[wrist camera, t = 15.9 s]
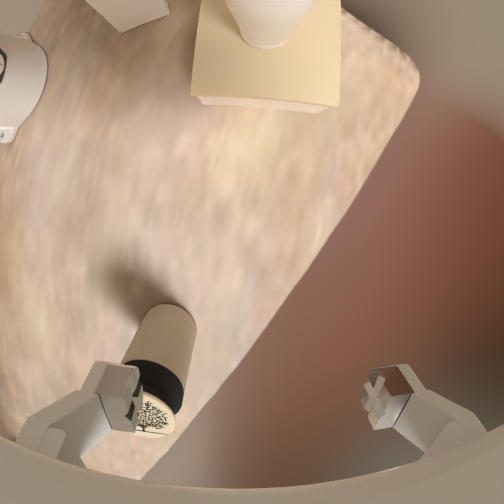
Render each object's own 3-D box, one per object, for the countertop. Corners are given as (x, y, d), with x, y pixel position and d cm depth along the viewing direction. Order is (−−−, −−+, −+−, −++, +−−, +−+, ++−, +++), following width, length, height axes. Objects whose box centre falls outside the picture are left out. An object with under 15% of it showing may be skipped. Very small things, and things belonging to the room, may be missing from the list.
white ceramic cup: (231, 57, 25) (208, 0, 11) (231, 1, 23) (212, -79, 9) (301, 59, 25) (338, 4, 11) (299, 2, 22) (328, -76, 9)
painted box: (200, 106, 34) (189, 94, 26) (210, 7, 29) (205, -22, 22) (318, 116, 34) (338, 107, 27) (322, 17, 30) (340, -8, 22)
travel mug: (145, 297, 41) (98, 380, 24) (199, 308, 42) (179, 400, 25) (143, 342, 43) (107, 429, 26) (193, 352, 44) (176, 445, 27)
